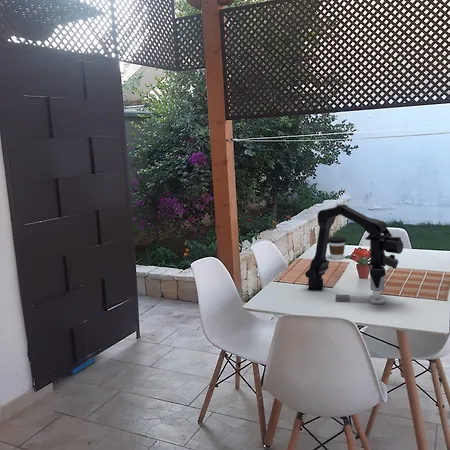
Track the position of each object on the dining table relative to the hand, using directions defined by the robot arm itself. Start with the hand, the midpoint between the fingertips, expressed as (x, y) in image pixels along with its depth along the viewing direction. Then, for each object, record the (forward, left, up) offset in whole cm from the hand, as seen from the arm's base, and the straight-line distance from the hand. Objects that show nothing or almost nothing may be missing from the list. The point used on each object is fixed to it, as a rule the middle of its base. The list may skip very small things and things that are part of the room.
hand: (377, 285), depth 201 cm
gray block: (0, 0, -1) cm, 1 cm away
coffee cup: (-21, +75, -8) cm, 78 cm away
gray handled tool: (-7, 0, -7) cm, 10 cm away
